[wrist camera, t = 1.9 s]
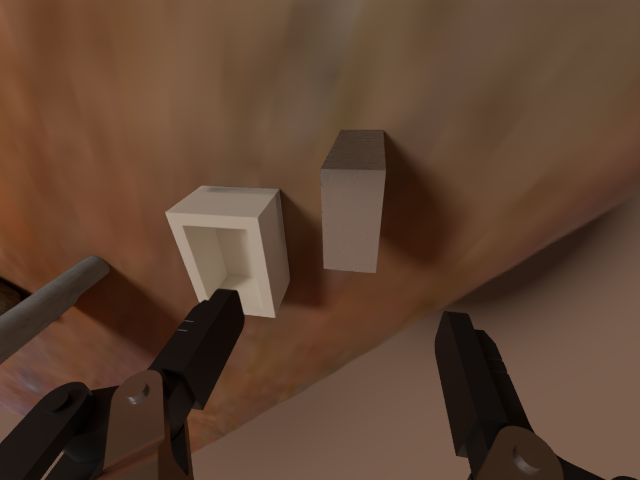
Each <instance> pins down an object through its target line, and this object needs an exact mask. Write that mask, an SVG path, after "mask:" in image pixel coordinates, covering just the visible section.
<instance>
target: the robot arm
mask: <svg viewBox="0 0 640 480" xmlns="http://www.w3.org/2000/svg"><path fill="white" fill-rule="evenodd" d="M244 320H245V317H244V312H243V308H242V304H241V300H240V297H239V293H238V291H237V290H232V289H221V288H218V289H217V290H215V292H214V293H213V295H212V296H211V297H210V299H209V300H203V301H202V302H200V303H199V304H198V305H197V306H195V307H194V308H193V309H192V310H191V311H190V313H189V314H188V315H187V317H186V318H185V319H184V322H182V323H181V325H180V326H179V328H178V330H177V331H176V332H175V333H174V334H173V336H172V337H171V338H170V340H169V341H168V343H167V344H166V345H165V347H164V348H163V349H162V351H161V352H160V353H159V355H158V356H157V358H156V359H155V360H154V362H153V363H152V364H151V366H150V367H149V368H148V369H147V370H144V371H140V372H138V373H136V374H134V375H132V376H130V377H129V378H127V379H126V380H125V381H124V382H123V383H122V384H121V385H119V386H113V387H108V388H102V389H97V390H91V391H90V389H89V388H88V387H87V386H86V385H85V384H84V383H82V382H70V383H67V384H64V385H62V386H60V387H58V388H56V389H54V390H53V391H51V392H50V393H48V394H47V395H46V396H45V397H43V398H42V399H41V400H40V401H39V402H38V403H37V404H36V405H35V407H34V408H33V409H32V410H31V411H30V412H29V413H28V414H27V415H26V416H25V417H24V419H23V420H22V421H21V422H20V423H19V424H18V425H17V426H16V427H15V428H14V429H13V430H12V432H11V433H10V434H9V435H8V436H7V437H6V438H5V439H4V440H3V441H2V442H1V443H0V480H40V479H41V478H42V477H43V475H44V474H45V473H46V471H47V470H48V469H49V467H50V466H51V465H52V463H53V462H54V461H55V459H56V458H57V457H58V455H59V454H60V453H61V451H63V452H64V454H63V455H62V457H61V458H60V459H59V461H58V462H57V464H56V465H55V466H54V467H53V469H52V470H51V471H50V473H49V474H48V476H47V477H46V478H45V480H194V476H193V467H192V458H191V449H190V440H189V430H188V422H187V416H188V414H189V413H190V411H191V409H198V410H203V409H204V407H205V405H206V403H207V401H208V399H209V397H210V395H211V393H212V391H213V389H214V387H215V384H216V382H217V380H218V378H219V376H220V374H221V372H222V370H223V368H224V366H225V364H226V362H227V360H228V358H229V356H230V354H231V352H232V350H233V348H234V346H235V344H236V342H237V340H238V338H239V336H240V334H241V332H242V329H243V326H244ZM435 355H436V360H437V365H438V370H439V375H440V380H441V385H442V390H443V394H444V399H445V404H446V409H447V414H448V419H449V424H450V428H451V433H452V438H453V443H454V448H455V453H456V456H460V457H466V458H468V460H469V464H470V468H471V473H470V475H469V477H468V479H467V480H605V479H603V478H601V477H599V476H597V475H594V474H592V473H590V472H588V471H586V470H584V469H582V468H579V467H577V466H575V465H573V464H571V463H569V462H567V461H565V460H563V459H562V458H560V457H559V456H557V455H556V454H555V453H554V452H553V450H552V449H551V448H550V447H549V446H548V445H547V443H546V442H545V441H543V440H542V439H541V438H540V437H539V436H537V435H536V434H535V433H534V431H533V429H532V428H531V426H530V424H529V421H528V419H527V417H526V414H525V412H524V409H523V407H522V405H521V402H520V400H519V398H518V395H517V393H516V391H515V389H514V386H513V384H512V381H511V379H510V377H509V375H508V374H507V370H506V367H505V365H504V362H502V358H501V355H500V353H499V351H498V348H497V346H496V344H495V343H494V342H493V340H492V339H491V338H490V337H489V336H488V335H487V334H486V333H485V331H484V330H475V329H474V328H473V325H472V322H471V320H470V317H469V315H468V314H467V313H457V312H447V311H444V312H443V315H442V318H441V321H440V324H439V328H438V331H437V334H436V338H435ZM612 480H637V479H635V478H631V477H627V476H618V477H616V478H613V479H612Z"/></svg>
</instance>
